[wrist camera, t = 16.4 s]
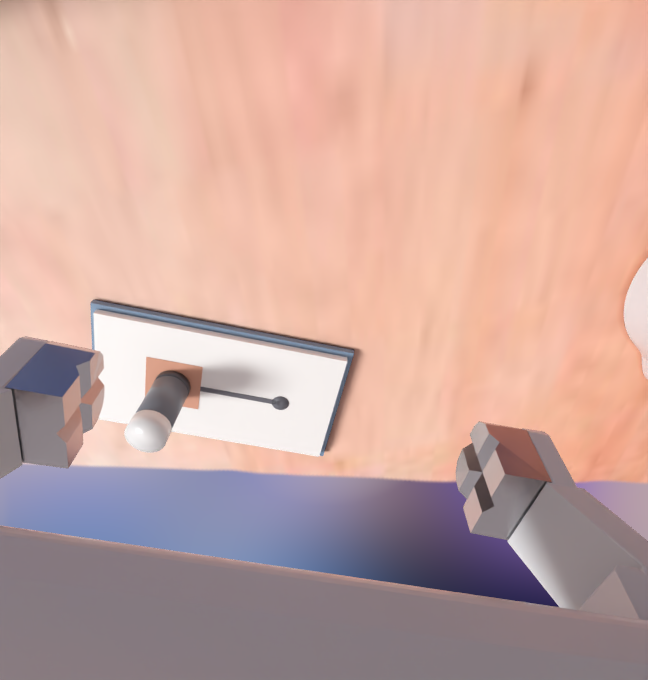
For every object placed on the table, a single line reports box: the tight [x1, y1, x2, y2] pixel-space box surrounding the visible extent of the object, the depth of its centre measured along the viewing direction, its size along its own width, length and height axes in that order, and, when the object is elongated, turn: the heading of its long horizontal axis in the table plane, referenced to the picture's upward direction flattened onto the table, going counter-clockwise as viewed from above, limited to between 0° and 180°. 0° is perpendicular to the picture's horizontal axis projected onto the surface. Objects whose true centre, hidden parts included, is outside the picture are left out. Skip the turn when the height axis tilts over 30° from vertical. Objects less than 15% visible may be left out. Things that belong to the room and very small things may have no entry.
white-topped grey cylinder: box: [125, 370, 191, 452], centre depth 42 cm, size 3×3×7 cm
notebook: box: [91, 300, 354, 457], centre depth 46 cm, size 23×13×1 cm, turn 78°
